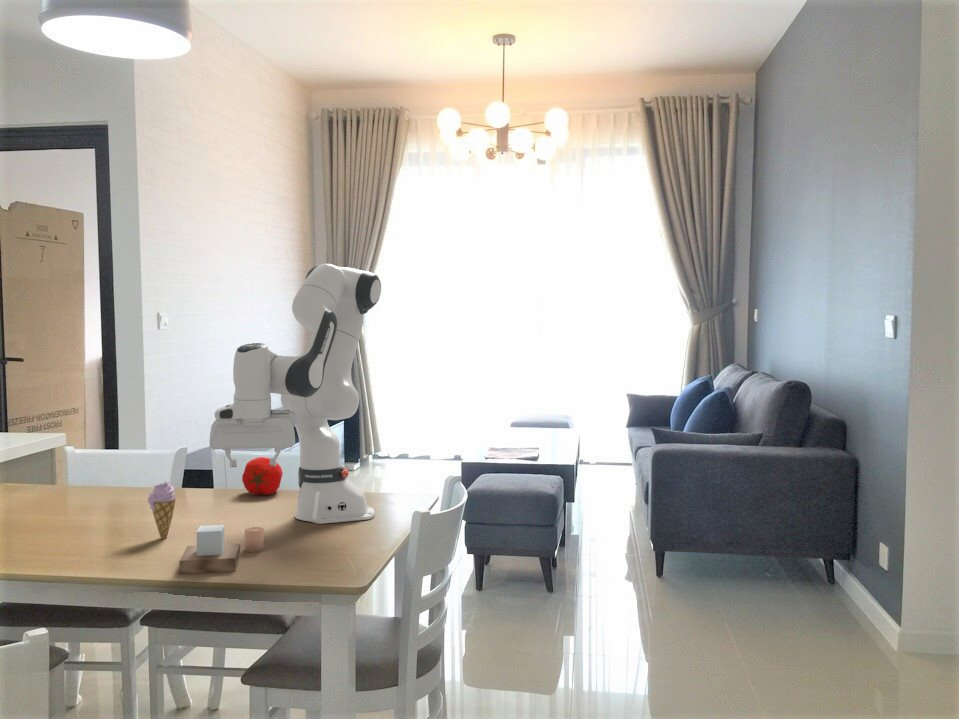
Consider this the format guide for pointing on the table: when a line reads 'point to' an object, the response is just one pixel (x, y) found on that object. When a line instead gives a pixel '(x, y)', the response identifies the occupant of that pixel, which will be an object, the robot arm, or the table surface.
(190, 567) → the walnut plinth
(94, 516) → the table surface
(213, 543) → the white cube
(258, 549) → the peach rounded block
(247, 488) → the tomato
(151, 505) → the ice cream cone
